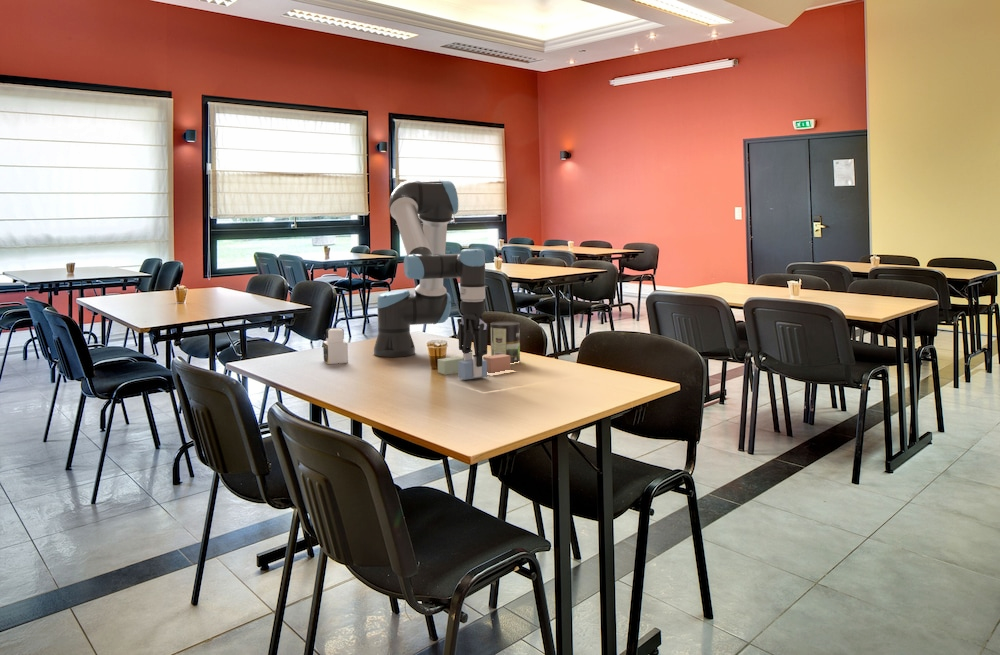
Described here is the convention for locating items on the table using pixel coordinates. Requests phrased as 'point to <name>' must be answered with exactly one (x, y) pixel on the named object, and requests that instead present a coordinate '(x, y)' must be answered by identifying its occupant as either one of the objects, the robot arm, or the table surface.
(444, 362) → the green brick
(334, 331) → the medicine bottle
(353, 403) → the table surface
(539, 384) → the table surface
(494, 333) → the coffee can
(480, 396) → the table surface
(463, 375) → the blue brick
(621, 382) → the table surface
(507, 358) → the terracotta brick
